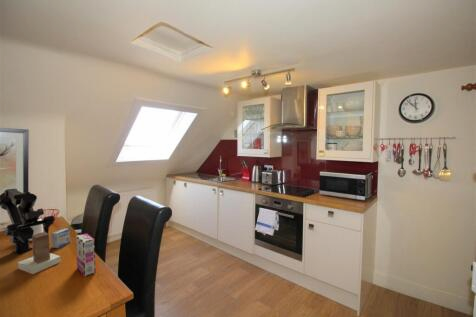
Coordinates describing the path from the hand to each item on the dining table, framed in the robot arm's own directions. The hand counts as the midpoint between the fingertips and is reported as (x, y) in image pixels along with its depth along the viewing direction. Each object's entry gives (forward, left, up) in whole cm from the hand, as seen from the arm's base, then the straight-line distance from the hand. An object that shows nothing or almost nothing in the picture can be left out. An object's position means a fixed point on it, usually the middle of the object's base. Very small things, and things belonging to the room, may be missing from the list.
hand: (36, 239), depth 118 cm
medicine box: (-10, +17, -13) cm, 24 cm away
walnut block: (+6, -1, -9) cm, 11 cm away
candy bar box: (+29, +5, -13) cm, 32 cm away
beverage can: (-34, +16, -12) cm, 40 cm away
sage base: (+4, -1, -12) cm, 13 cm away
